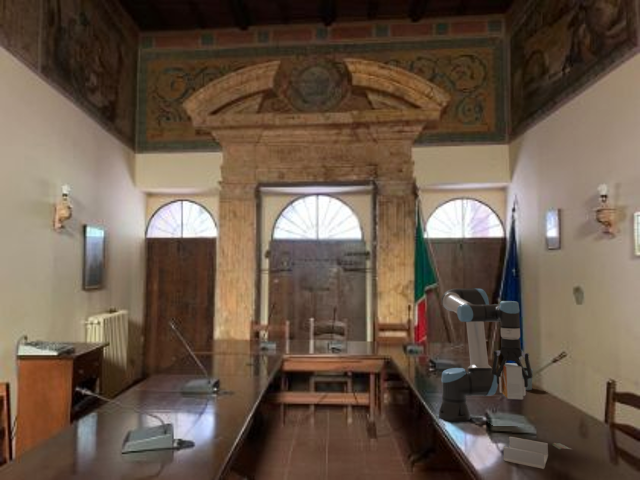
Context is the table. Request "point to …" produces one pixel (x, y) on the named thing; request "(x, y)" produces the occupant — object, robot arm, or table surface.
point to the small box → (512, 381)
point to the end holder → (526, 452)
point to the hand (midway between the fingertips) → (512, 393)
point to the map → (560, 446)
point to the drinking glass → (528, 380)
